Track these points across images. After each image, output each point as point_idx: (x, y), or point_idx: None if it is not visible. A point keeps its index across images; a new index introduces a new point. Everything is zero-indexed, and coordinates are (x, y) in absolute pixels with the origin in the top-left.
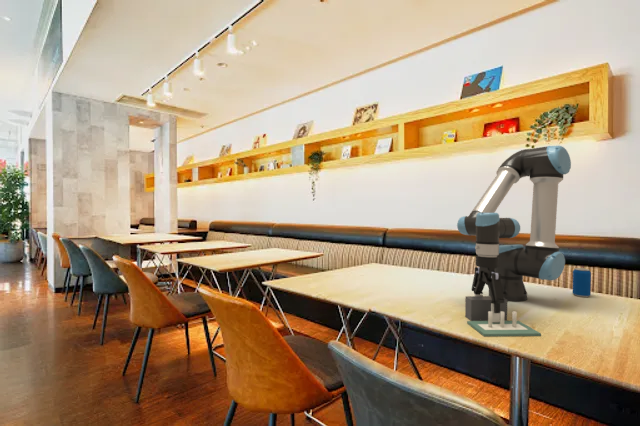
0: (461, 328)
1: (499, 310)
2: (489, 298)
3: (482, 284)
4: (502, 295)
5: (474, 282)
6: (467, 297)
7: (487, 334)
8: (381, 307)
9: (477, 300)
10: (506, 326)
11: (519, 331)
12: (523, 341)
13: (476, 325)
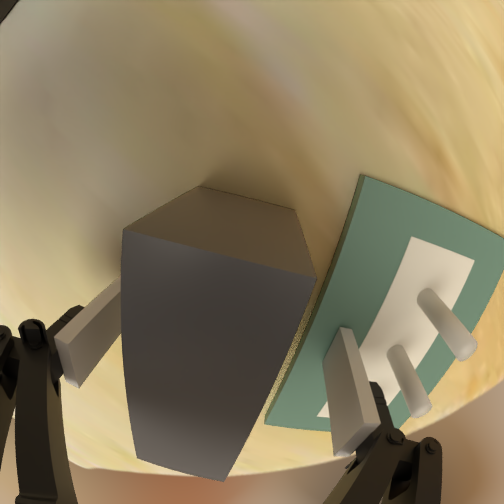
0: (304, 445)
1: (383, 399)
2: (208, 405)
3: (59, 467)
4: (436, 486)
5: (5, 437)
6: (163, 466)
7: (401, 423)
8: (93, 459)
9: (231, 465)
10: (403, 332)
11: (463, 317)
12: (486, 344)
13: (325, 423)
